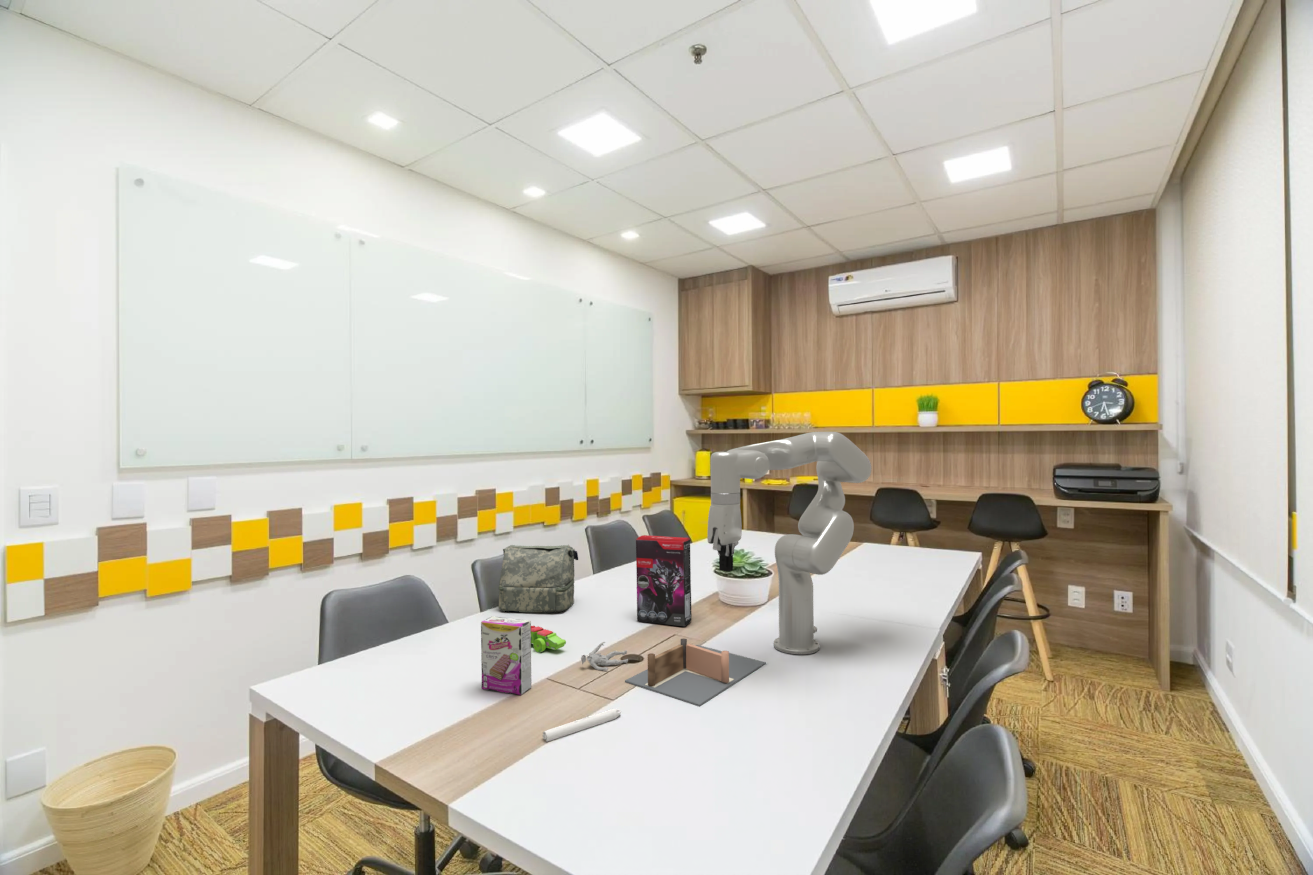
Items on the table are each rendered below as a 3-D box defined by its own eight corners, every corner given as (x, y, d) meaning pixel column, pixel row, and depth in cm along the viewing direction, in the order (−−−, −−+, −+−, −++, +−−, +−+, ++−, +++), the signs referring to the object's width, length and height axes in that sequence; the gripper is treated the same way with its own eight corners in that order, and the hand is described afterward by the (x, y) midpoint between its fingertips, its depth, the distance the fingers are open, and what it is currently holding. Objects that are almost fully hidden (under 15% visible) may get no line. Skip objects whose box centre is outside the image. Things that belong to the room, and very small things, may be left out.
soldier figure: (630, 671, 157) (589, 665, 151) (620, 680, 160) (580, 674, 154) (626, 643, 163) (587, 637, 157) (617, 652, 165) (578, 646, 159)
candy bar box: (480, 690, 144) (479, 621, 144) (492, 682, 149) (491, 615, 149) (521, 696, 140) (520, 625, 140) (532, 687, 145) (531, 619, 145)
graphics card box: (635, 622, 195) (634, 537, 195) (643, 616, 201) (643, 534, 201) (685, 628, 188) (684, 540, 188) (692, 621, 194) (691, 537, 194)
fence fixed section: (682, 665, 156) (682, 637, 156) (688, 667, 155) (688, 639, 155) (646, 684, 145) (646, 654, 145) (652, 686, 144) (651, 656, 144)
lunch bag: (582, 601, 220) (581, 541, 220) (566, 615, 202) (565, 550, 202) (514, 598, 225) (513, 539, 224) (493, 612, 207) (492, 549, 206)
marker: (618, 714, 131) (618, 703, 131) (623, 717, 130) (623, 707, 130) (542, 739, 121) (542, 728, 121) (547, 744, 119) (547, 732, 119)
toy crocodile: (569, 650, 170) (569, 629, 170) (551, 657, 165) (551, 635, 165) (524, 636, 182) (524, 616, 182) (506, 642, 177) (506, 621, 177)
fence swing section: (685, 668, 154) (685, 641, 154) (690, 666, 155) (689, 639, 155) (726, 682, 145) (725, 653, 145) (730, 680, 146) (730, 651, 146)
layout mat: (696, 646, 172) (696, 644, 172) (766, 663, 159) (766, 661, 159) (624, 681, 148) (624, 680, 148) (699, 706, 134) (699, 704, 134)
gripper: (728, 496, 165) (728, 563, 165) (697, 501, 153) (697, 573, 153) (752, 497, 160) (753, 567, 160) (722, 503, 148) (723, 577, 148)
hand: (726, 570), depth 156 cm, fingers closed
